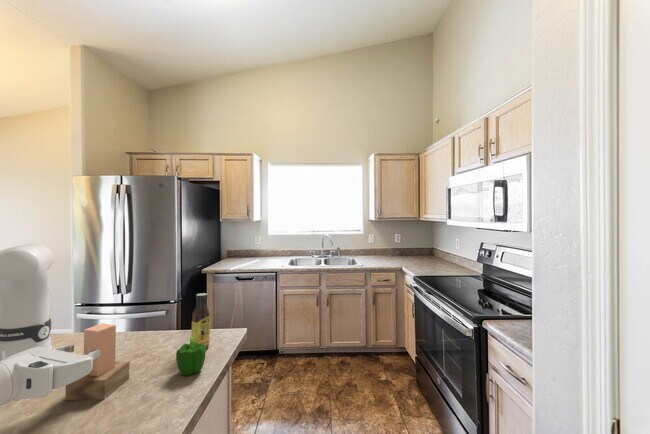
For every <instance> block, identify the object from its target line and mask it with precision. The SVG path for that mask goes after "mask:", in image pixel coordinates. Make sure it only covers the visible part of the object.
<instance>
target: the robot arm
mask: <svg viewBox="0 0 650 434" xmlns="http://www.w3.org/2000/svg"><path fill="white" fill-rule="evenodd" d="M54 258H55V257H54V254H53V252H52V251H51V249H50V248H49V247H47V246H46V245H43V244H41V243H40V244H39V243H27V244H26V243H25V244H22V245H21V244H20V245H17V246H12V247H8V248H3V249H0V407H3V406H4V405H7V404H8V403H11V402H13V401H14V402H18V401H21V400H27V399H43V398H45V397H48V396H50V395H52V394H53V390H57V389H61V388H63V387H66V385H68V384H70V383H72V382H74V381H76V380H78V379H80V378H82V377H84V376H86V375H88V374H89V373H90V372H91V371H92V365H93V359H96V358H98V357H99V356H100V350H93V351H90V352H89V354H88V355H84V354H78V353H75V352H74V351H75V345H74V344H67V345H64V346H59V347H53V346H52V339H51V331H52V319H51V318H50V313H51V312H50V311H51V310H50V309H51V304H50V303H51V294H50V290H49V289H50V288H49V283H48V270H49V269H51V267H52V266H53V264H54V260H55V259H54Z"/></svg>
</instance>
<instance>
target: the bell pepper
mask: <svg viewBox="0 0 650 434" xmlns="http://www.w3.org/2000/svg"><path fill="white" fill-rule="evenodd" d="M206 351H207V349H206V347H205V345H204V344H199V343H197V342H193V337H191V336H190V337H189V343H183V344H182V345H181V346H180V348H178V349H177V351H176V353H175V361H176V365H177V369H178V372H179V373H180V374H181V375H182V376H190V375H192V374H198V373H200V372H201V370H202V369H203V367H204V363H205V361H206V360H205V359H206Z"/></svg>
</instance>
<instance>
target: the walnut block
mask: <svg viewBox="0 0 650 434" xmlns="http://www.w3.org/2000/svg"><path fill="white" fill-rule="evenodd" d="M128 380H130V361H115V368H113V369H111V370H109V371H107V372H105V373H103V374H101V375H99V376H92V375H86V376H84V377H82V378H80V379H78V380H76V381H74V382H72V383H70V384H68V385H66V386H65V397H64V400H65V401H66V400H67V401H76V400H79V401H81V400H82V401H84V400H87V401H88V400H105V399H107V398H108V397H109V396H110V395H112V394H113V393H114V392H115V391H116V390H118V389H119V388H120V387H121V386H122V385H123V384H125V383H126V382H127V381H128Z"/></svg>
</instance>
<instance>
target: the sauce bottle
mask: <svg viewBox="0 0 650 434" xmlns="http://www.w3.org/2000/svg"><path fill="white" fill-rule="evenodd" d="M208 298H209V296H208V293H207V292H206V293H205V292H203V293H197V294H195V300H196V301H195V304H196V305H195V308H194V309H193V312H192V315H191V318H192V319H191V332H190V335H191V336H190V337H193V342H197V343H199V344H204V345H205V347H206V350H208V348H209V346H210V338H211V337H210V335H211V332H210V331H211V313H210V311H209V307H208Z"/></svg>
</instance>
